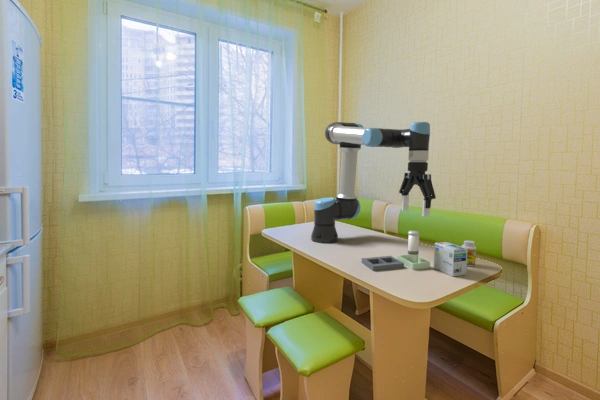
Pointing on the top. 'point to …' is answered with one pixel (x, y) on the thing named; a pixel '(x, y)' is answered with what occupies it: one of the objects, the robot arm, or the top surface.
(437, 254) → the light bulb box
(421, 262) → the parts tray
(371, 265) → the fuse holder
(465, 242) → the supplement bottle
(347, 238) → the top surface
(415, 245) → the cylinder
